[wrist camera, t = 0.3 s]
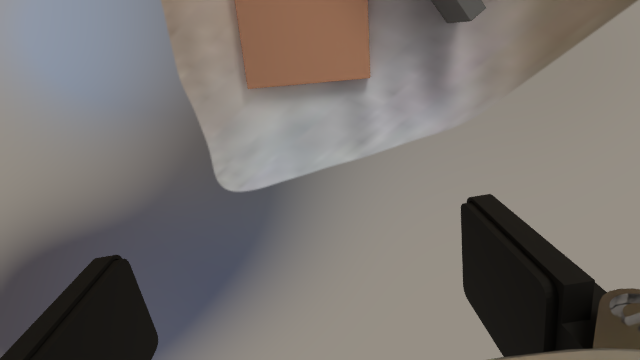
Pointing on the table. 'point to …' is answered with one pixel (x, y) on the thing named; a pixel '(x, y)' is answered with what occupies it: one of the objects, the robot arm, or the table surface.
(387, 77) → the table surface
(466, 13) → the long grey slat
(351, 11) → the mat
